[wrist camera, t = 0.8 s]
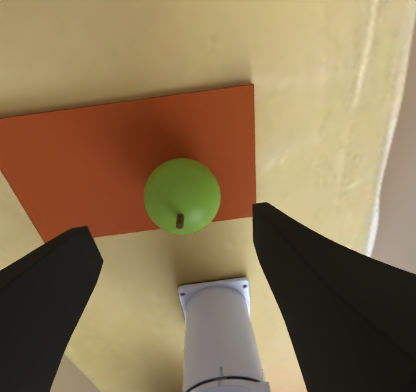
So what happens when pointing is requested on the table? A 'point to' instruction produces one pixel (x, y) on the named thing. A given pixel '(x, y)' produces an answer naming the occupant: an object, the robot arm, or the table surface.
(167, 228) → the apple
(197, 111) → the cloth
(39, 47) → the table surface
